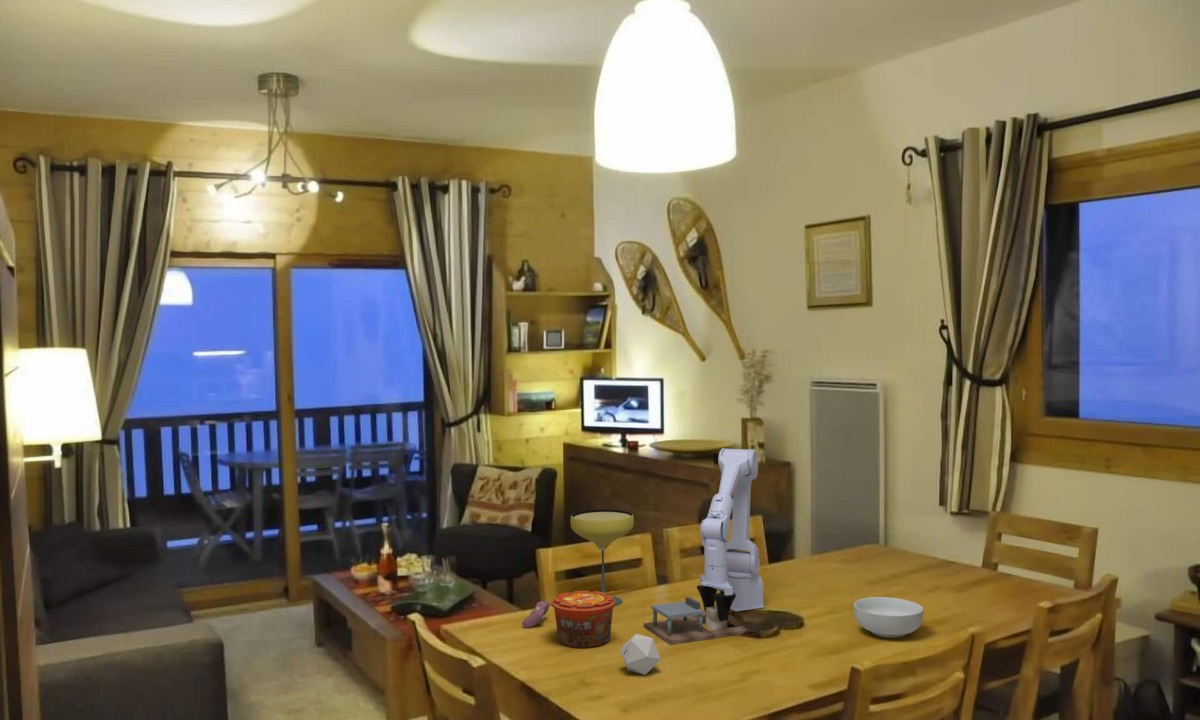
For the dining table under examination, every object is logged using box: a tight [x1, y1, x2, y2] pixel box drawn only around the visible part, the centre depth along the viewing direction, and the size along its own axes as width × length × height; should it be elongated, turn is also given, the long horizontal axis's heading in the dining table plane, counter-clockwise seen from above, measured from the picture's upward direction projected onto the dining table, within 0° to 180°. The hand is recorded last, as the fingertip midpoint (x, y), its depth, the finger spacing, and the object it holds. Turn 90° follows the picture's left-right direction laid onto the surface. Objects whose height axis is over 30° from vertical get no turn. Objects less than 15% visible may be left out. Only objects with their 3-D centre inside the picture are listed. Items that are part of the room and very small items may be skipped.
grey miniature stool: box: [650, 596, 705, 634], centre depth 249 cm, size 10×10×6 cm
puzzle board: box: [643, 613, 750, 646], centre depth 251 cm, size 24×16×1 cm, turn 111°
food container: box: [551, 590, 616, 649], centre depth 244 cm, size 16×16×11 cm
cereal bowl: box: [853, 596, 925, 639], centre depth 246 cm, size 17×17×7 cm
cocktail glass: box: [569, 508, 635, 607], centre depth 279 cm, size 18×18×25 cm
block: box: [705, 605, 728, 630], centre depth 253 cm, size 4×4×5 cm
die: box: [619, 633, 662, 676], centre depth 221 cm, size 8×9×10 cm
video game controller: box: [521, 600, 551, 629], centre depth 259 cm, size 10×5×7 cm, turn 169°
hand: (716, 616), depth 253 cm, fingers open, 7 cm apart
